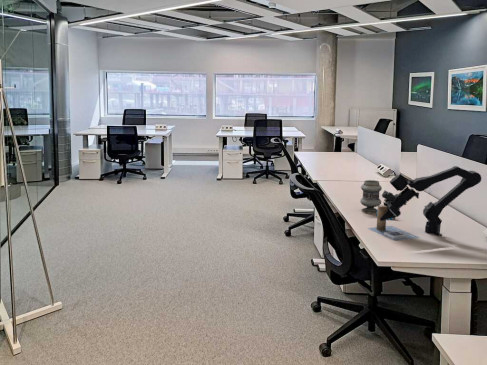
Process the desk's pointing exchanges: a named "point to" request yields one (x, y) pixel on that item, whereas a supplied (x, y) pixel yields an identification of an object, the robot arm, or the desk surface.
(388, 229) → the board
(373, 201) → the apothecary jar
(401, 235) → the metal collar
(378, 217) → the tan wooden peg
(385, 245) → the desk surface
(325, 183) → the desk surface
